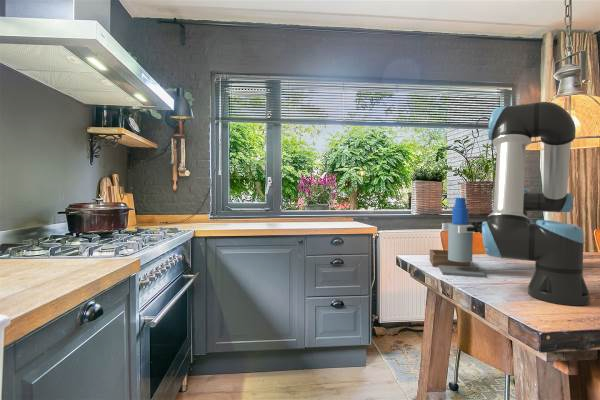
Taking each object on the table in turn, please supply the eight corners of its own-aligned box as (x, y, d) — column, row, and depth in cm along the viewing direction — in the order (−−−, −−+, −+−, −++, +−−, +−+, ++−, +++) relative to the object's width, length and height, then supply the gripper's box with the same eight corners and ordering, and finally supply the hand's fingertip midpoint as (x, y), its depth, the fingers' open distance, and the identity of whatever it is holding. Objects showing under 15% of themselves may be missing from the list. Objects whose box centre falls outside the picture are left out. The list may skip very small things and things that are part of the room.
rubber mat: (485, 277, 130) (485, 274, 130) (442, 274, 134) (442, 272, 134) (477, 269, 143) (477, 267, 143) (438, 267, 147) (438, 265, 147)
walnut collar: (469, 268, 144) (470, 256, 144) (432, 266, 148) (433, 255, 148) (463, 261, 158) (463, 251, 158) (429, 260, 162) (429, 249, 162)
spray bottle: (443, 259, 139) (444, 197, 138) (454, 256, 145) (455, 197, 144) (466, 263, 132) (466, 198, 132) (476, 260, 138) (477, 197, 137)
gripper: (519, 239, 133) (470, 241, 127) (477, 231, 153) (433, 233, 147) (520, 219, 132) (470, 221, 126) (477, 215, 153) (433, 216, 147)
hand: (450, 228), depth 137 cm, fingers closed on spray bottle, 9 cm apart
